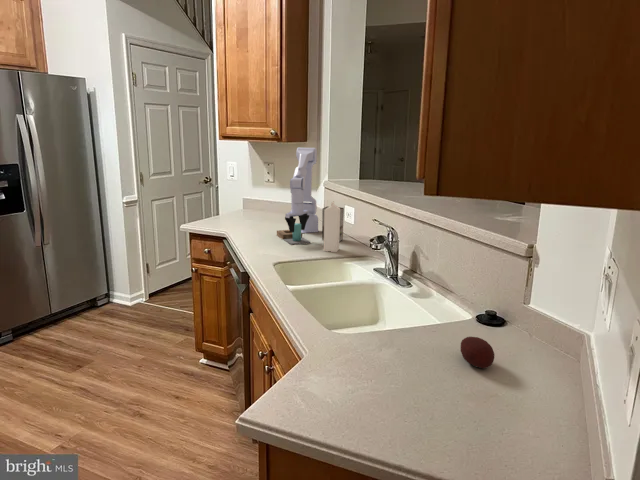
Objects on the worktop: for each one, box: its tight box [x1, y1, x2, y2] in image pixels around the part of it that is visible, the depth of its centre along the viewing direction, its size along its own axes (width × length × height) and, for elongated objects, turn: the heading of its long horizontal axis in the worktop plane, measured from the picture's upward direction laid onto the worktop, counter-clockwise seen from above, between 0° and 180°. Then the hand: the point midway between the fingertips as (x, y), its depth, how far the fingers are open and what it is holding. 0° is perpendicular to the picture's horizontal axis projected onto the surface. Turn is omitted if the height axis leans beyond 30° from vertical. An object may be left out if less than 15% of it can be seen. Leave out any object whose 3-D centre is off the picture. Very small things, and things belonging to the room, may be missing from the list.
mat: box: [283, 237, 311, 246], centre depth 224 cm, size 10×10×1 cm
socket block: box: [276, 229, 303, 241], centre depth 233 cm, size 10×10×2 cm
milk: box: [323, 201, 340, 253], centre depth 207 cm, size 6×6×22 cm
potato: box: [459, 336, 495, 369], centre depth 109 cm, size 7×10×6 cm
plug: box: [293, 222, 301, 241], centre depth 223 cm, size 4×4×8 cm
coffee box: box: [321, 206, 345, 242], centre depth 227 cm, size 9×6×16 cm
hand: (297, 230), depth 223 cm, fingers open, 7 cm apart
